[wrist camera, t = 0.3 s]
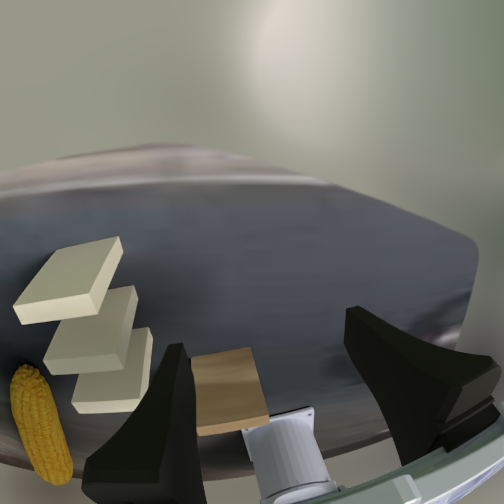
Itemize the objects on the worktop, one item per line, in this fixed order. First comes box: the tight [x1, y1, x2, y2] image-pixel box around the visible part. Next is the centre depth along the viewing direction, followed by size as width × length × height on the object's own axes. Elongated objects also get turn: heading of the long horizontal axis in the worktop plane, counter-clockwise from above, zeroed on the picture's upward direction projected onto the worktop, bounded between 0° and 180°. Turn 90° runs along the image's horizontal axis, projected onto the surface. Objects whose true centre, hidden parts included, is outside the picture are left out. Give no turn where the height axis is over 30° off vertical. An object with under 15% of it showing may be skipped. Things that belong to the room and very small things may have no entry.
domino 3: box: [71, 327, 153, 414], centre depth 20 cm, size 1×5×7 cm, turn 97°
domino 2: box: [43, 285, 138, 375], centre depth 18 cm, size 1×5×7 cm, turn 97°
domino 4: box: [191, 347, 270, 436], centre depth 22 cm, size 1×5×7 cm, turn 97°
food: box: [10, 364, 73, 485], centre depth 23 cm, size 21×6×6 cm, turn 164°
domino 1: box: [13, 236, 123, 325], centre depth 16 cm, size 1×5×7 cm, turn 97°
